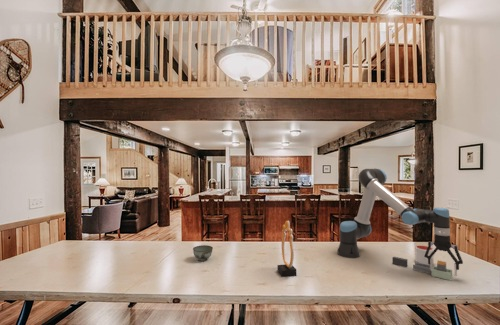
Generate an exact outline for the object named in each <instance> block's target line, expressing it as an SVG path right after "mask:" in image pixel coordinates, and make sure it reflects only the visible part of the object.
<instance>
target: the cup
mask: <svg viewBox="0 0 500 325" xmlns="http://www.w3.org/2000/svg"><path fill="white" fill-rule="evenodd" d="M427 248H428V245H427V246H426V245H416V246H415V250H414V251H415V260H414V261H415V262H417V263H422V264H426V265H430V264H428V258H426V257H424V256H425V253H426V250H427ZM433 251H434V248H433V247H431V248H430V250H429V253H428V256H429V255H430V254H431V253H432V252H433ZM431 259H432V261H433V262H434V255H433V256H432V257H431Z"/></svg>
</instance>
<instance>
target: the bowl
mask: <svg viewBox="0 0 500 325" xmlns="http://www.w3.org/2000/svg"><path fill="white" fill-rule="evenodd" d="M213 249H214V248H213V246H212V245H208V244H207V245H205V244H202V245H197V246H194V247H193V248H192V253H193V256H194V257H195V259H197V260H198V261H199V262H206V261H207V260H209V258H210V257H211V256H212V253H213Z"/></svg>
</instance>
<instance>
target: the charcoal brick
mask: <svg viewBox="0 0 500 325" xmlns="http://www.w3.org/2000/svg"><path fill="white" fill-rule="evenodd" d="M391 263H392V264H391V265H394V266H398V267H402V268H407V267H408V259H407V258H403V257H398V256H393V257H392V262H391Z"/></svg>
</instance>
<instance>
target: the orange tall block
mask: <svg viewBox="0 0 500 325" xmlns="http://www.w3.org/2000/svg"><path fill="white" fill-rule="evenodd" d="M436 266H437V270H439V271H444V272H446V269H447V262H446V261H443V260H437V263H436Z"/></svg>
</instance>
